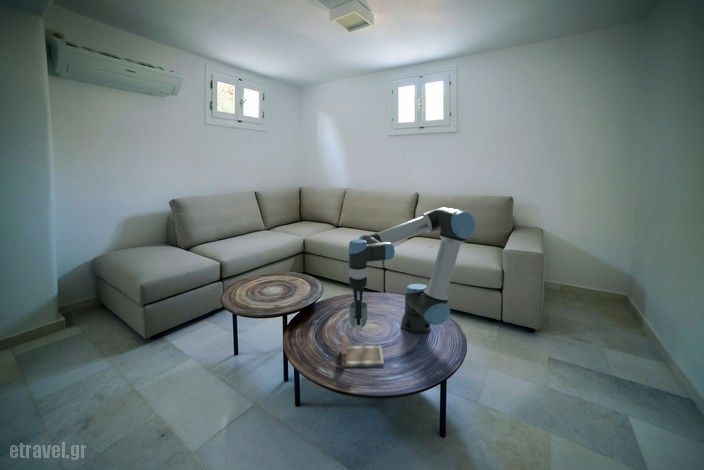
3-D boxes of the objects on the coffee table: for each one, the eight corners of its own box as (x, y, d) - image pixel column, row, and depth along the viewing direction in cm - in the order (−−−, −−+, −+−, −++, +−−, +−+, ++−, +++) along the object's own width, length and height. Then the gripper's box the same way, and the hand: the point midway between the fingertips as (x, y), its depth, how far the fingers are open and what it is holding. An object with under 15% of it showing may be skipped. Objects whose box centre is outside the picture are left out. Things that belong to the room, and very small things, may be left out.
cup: (357, 319, 137) (357, 299, 135) (370, 325, 132) (371, 304, 129) (345, 326, 132) (345, 305, 129) (358, 332, 126) (358, 310, 124)
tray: (380, 347, 142) (381, 335, 140) (383, 365, 129) (383, 353, 127) (342, 348, 142) (342, 336, 140) (341, 366, 129) (341, 353, 128)
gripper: (349, 268, 137) (349, 314, 142) (349, 286, 116) (349, 339, 121) (365, 268, 137) (365, 313, 142) (368, 285, 116) (368, 338, 121)
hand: (358, 325), depth 132 cm, fingers closed on cup, 8 cm apart
